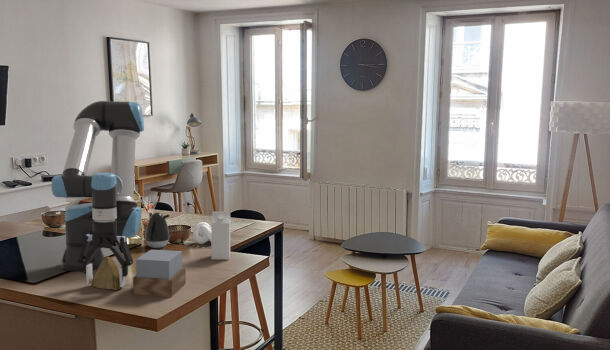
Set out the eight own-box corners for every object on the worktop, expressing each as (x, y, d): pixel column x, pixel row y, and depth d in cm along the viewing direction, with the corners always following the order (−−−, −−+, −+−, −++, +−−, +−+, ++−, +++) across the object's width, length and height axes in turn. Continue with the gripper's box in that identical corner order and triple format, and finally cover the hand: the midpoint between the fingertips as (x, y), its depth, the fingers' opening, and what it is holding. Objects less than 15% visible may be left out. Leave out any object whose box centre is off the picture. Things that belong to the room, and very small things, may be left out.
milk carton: (212, 255, 218) (212, 210, 216) (230, 255, 219) (230, 210, 216) (211, 259, 211) (211, 213, 209) (229, 259, 212) (229, 213, 209)
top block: (136, 277, 170) (136, 259, 170) (151, 266, 182) (151, 249, 181) (169, 279, 169) (169, 261, 168) (182, 268, 181) (181, 251, 180)
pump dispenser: (166, 250, 224) (166, 215, 222) (142, 249, 224) (141, 214, 222) (172, 244, 234) (172, 210, 232) (149, 243, 234) (149, 209, 232)
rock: (131, 282, 175) (123, 270, 183) (115, 265, 171) (107, 253, 179) (103, 304, 172) (96, 291, 180) (87, 288, 168) (80, 275, 176)
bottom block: (133, 295, 171) (132, 277, 170) (149, 282, 183) (149, 265, 183) (172, 298, 169) (171, 280, 168) (185, 284, 182) (185, 268, 181)
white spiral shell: (189, 245, 232) (189, 225, 231) (196, 239, 244) (196, 220, 243) (214, 246, 232) (215, 226, 231) (220, 239, 244) (220, 220, 243)
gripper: (64, 220, 171) (66, 286, 174) (133, 224, 169) (134, 290, 171) (77, 216, 178) (78, 279, 181) (143, 219, 176) (144, 282, 179)
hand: (106, 284), depth 176 cm, fingers closed on rock, 11 cm apart
